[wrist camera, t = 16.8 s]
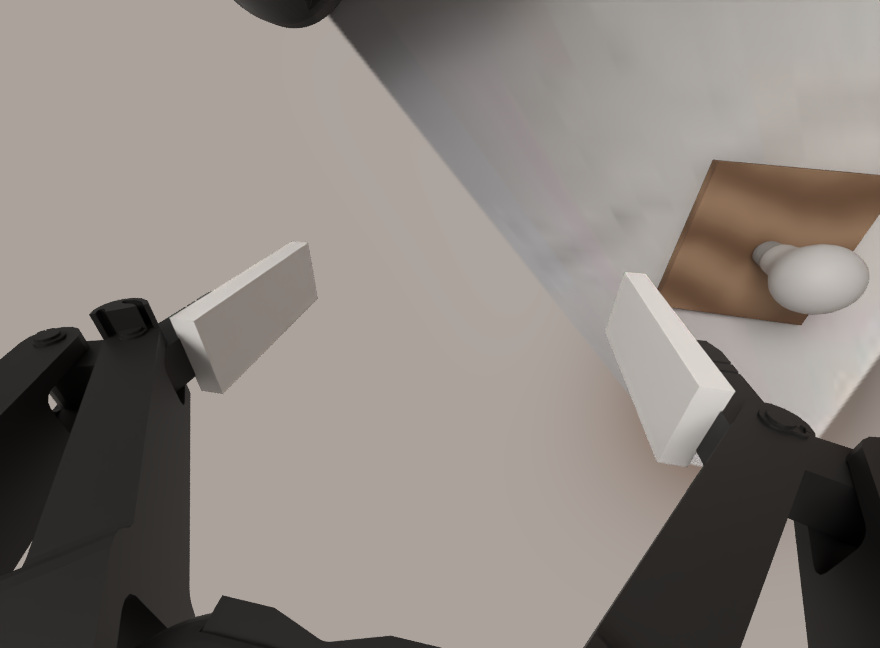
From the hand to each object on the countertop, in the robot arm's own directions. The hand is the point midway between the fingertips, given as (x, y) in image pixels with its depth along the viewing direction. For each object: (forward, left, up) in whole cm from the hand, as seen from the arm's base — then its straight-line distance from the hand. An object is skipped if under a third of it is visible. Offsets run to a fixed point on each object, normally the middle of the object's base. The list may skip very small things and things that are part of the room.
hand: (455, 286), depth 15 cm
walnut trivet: (+4, +30, -30) cm, 42 cm away
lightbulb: (+4, +29, -29) cm, 41 cm away
